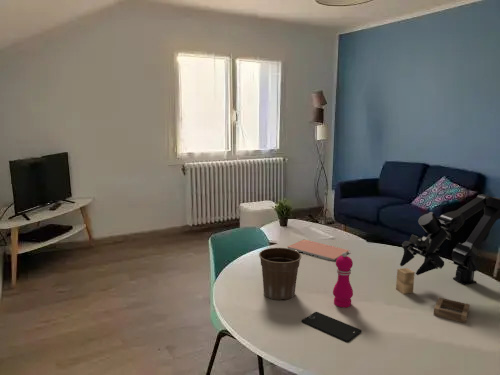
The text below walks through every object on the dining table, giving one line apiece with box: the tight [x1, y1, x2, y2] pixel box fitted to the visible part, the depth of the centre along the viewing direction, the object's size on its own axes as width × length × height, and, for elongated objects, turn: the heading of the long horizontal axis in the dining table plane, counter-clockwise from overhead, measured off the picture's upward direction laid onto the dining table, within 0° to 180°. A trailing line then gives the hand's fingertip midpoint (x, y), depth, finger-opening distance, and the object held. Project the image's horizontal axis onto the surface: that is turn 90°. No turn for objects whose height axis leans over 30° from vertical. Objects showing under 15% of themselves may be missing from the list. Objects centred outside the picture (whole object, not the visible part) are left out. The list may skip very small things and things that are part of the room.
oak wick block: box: [395, 267, 416, 295], centre depth 158 cm, size 4×4×8 cm
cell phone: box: [301, 311, 362, 343], centre depth 133 cm, size 9×18×1 cm, turn 46°
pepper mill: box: [332, 252, 354, 308], centre depth 147 cm, size 7×7×20 cm
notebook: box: [287, 239, 350, 262], centre depth 204 cm, size 27×17×2 cm, turn 49°
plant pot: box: [258, 247, 302, 301], centre depth 155 cm, size 16×16×16 cm
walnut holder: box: [433, 296, 471, 324], centre depth 141 cm, size 10×10×2 cm
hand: (408, 269), depth 158 cm, fingers open, 9 cm apart
